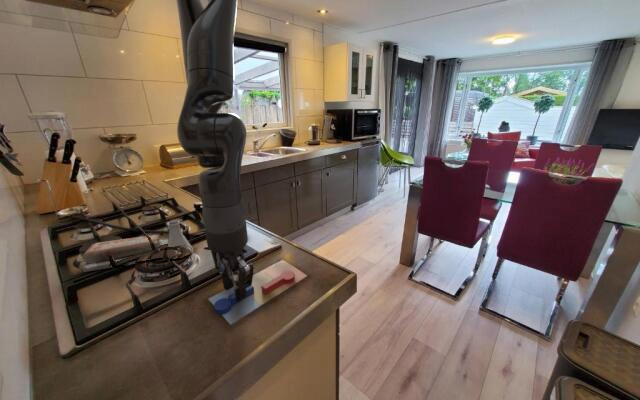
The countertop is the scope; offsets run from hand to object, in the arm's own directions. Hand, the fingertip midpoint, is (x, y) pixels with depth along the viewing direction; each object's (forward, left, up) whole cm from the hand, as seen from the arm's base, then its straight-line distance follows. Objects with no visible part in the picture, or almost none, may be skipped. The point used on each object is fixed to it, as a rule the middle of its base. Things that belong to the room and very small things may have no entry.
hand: (235, 293), depth 54 cm
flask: (-23, +18, -3) cm, 29 cm away
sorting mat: (+4, +5, -3) cm, 7 cm away
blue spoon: (0, 0, -2) cm, 2 cm away
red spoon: (+8, +5, -2) cm, 10 cm away
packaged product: (-36, +16, -3) cm, 39 cm away
